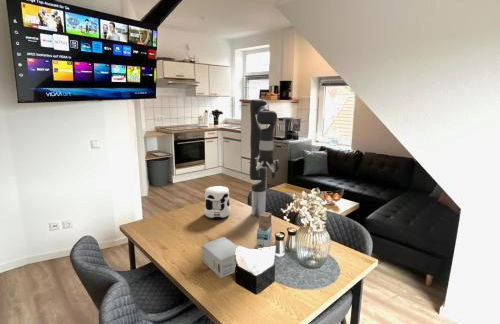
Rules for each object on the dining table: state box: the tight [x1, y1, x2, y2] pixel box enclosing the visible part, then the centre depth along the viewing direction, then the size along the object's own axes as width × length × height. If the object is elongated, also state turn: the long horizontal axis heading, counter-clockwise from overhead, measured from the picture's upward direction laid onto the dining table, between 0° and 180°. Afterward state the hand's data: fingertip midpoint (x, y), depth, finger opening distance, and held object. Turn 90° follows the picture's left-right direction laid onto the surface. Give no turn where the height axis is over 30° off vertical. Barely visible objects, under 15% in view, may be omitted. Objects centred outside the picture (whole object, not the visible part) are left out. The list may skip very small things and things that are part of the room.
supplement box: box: [201, 236, 239, 279], centre depth 137 cm, size 17×13×9 cm
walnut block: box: [258, 211, 272, 229], centre depth 153 cm, size 5×5×7 cm
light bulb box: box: [256, 222, 273, 249], centre depth 155 cm, size 11×7×11 cm, turn 168°
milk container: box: [203, 185, 232, 220], centre depth 191 cm, size 17×17×18 cm
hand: (265, 177), depth 159 cm, fingers open, 8 cm apart
